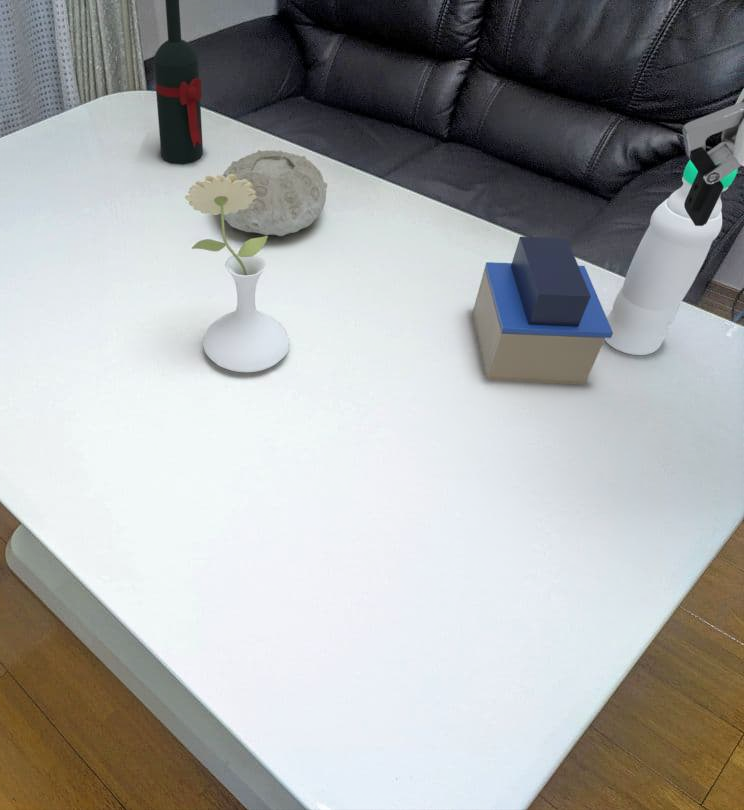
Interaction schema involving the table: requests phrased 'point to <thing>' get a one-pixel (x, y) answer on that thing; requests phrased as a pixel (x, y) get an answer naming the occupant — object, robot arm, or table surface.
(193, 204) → the flower in vase
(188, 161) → the wine bottle
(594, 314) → the container lid
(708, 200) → the robot arm
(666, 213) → the water bottle
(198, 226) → the table surface
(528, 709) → the table surface
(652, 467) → the table surface
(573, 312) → the case
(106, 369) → the table surface
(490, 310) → the container
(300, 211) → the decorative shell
